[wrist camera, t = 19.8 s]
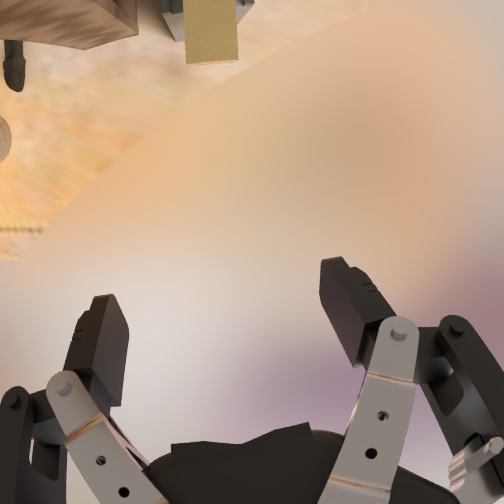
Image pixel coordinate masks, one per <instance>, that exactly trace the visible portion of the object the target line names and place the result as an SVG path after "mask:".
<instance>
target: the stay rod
mask: <svg viewBox="0 0 504 504" xmlns="http://www.w3.org/2000/svg"><path fill="white" fill-rule="evenodd" d="M183 14H184V33H185V49H186V64H187V66H196V65H206V64H218V63H232V62H235V61H237V60H238V43H237V24H236V5H235V0H183Z"/></svg>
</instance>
